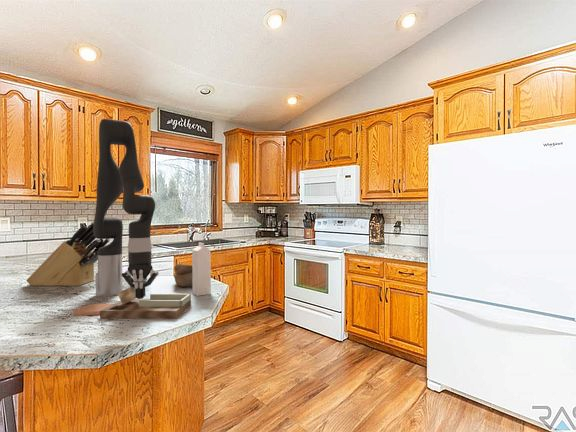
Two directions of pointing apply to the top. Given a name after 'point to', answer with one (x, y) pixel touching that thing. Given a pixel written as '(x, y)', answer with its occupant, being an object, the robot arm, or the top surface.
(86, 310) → the tile
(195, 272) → the milk
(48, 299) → the top surface
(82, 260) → the knife block
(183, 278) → the bowl
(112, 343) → the top surface
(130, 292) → the block
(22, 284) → the top surface
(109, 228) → the robot arm
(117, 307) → the dark brown flat tray
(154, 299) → the grey green shallow tray
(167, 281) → the top surface
